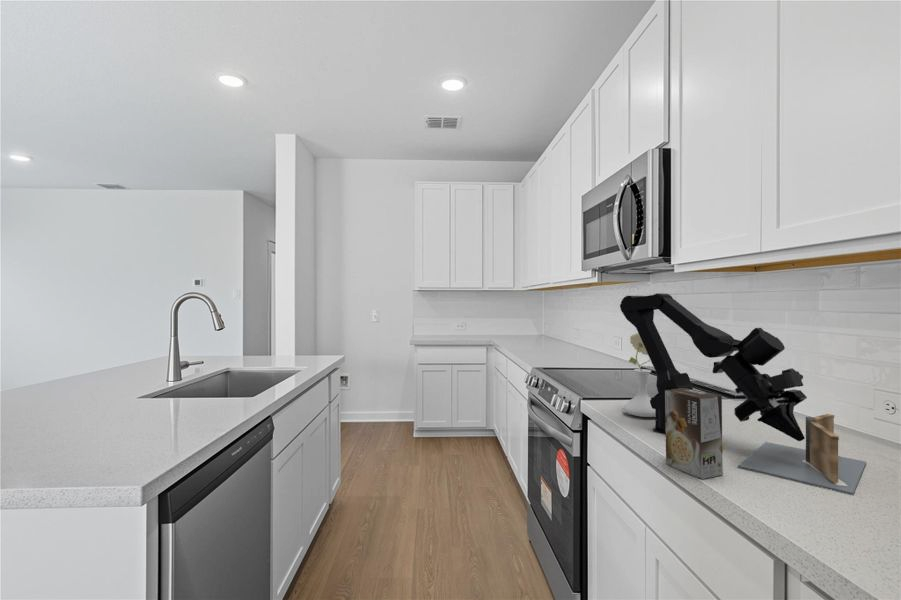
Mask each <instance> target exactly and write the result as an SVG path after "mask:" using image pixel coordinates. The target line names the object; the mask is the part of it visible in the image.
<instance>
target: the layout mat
mask: <svg viewBox="0 0 901 600" xmlns="http://www.w3.org/2000/svg"><path fill="white" fill-rule="evenodd" d="M866 464H867V461H866V460H861V459H855V458H851V457H850V458H849V457H845V456H839V455H838V482H832V481H831V480H829V479H828V478H827V477H826V476H825V475H824V474H823V473H821V472H820V471H819V470H818V469H817V468H816V467H815V466H814V465H812V464H811V463H808V462H806V448H805V449H804V448H799V447H795V446H794V447H793V446H789V445H783V444H779V443H773V442H767V441H765V442H764V443H763V444H761V445H760V446H759V447H758V448H757V449H756V450H754V451H753V452H752V453H751V454H750V455H748V457H746V458H745V459H744V460H743V461H742V462H740V463H739V464H738V465H737V468H739V469H742V470H748V471H751V472H755V473H759V474H763V475H768V476H771V475H772V476H773V477H775V478H779V479H780V478H781V479H785V480H787V481H792V480H793V482H796V481H797V482H796V483H800V482H801V484H805V485H809V486H813V485H814V487H817V486H819V488H821V487H823V488H822V489H825V488H827V489H826V490H830V489H832V490H831V491H834V490H836V491H835V492H838V491H840V492H839V493H842V492H844V493H843V494H846V493H847V494H848V495H852V496H854V494H855V492H856V489H857V487H858V484H859V482H860V479H861V478H862V477H861V476H862V475H863V472H864V470H865V467H866ZM772 476H771V477H772Z"/></svg>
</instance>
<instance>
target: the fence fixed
mask: <svg viewBox="0 0 901 600" xmlns="http://www.w3.org/2000/svg"><path fill="white" fill-rule="evenodd" d="M834 419H835V415H834V414H829V413H825V414H822V415H817V416H805V450H806V462H808V463H810V425H809V422H817V423H818V424H820V425H821V426H823V427H824V428H826V429H828V430H829V431H831V432H832V433H834V434H835V432H834V431H835V426H834V425H835V424H834V423H835V422H834V421H835V420H834Z"/></svg>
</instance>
